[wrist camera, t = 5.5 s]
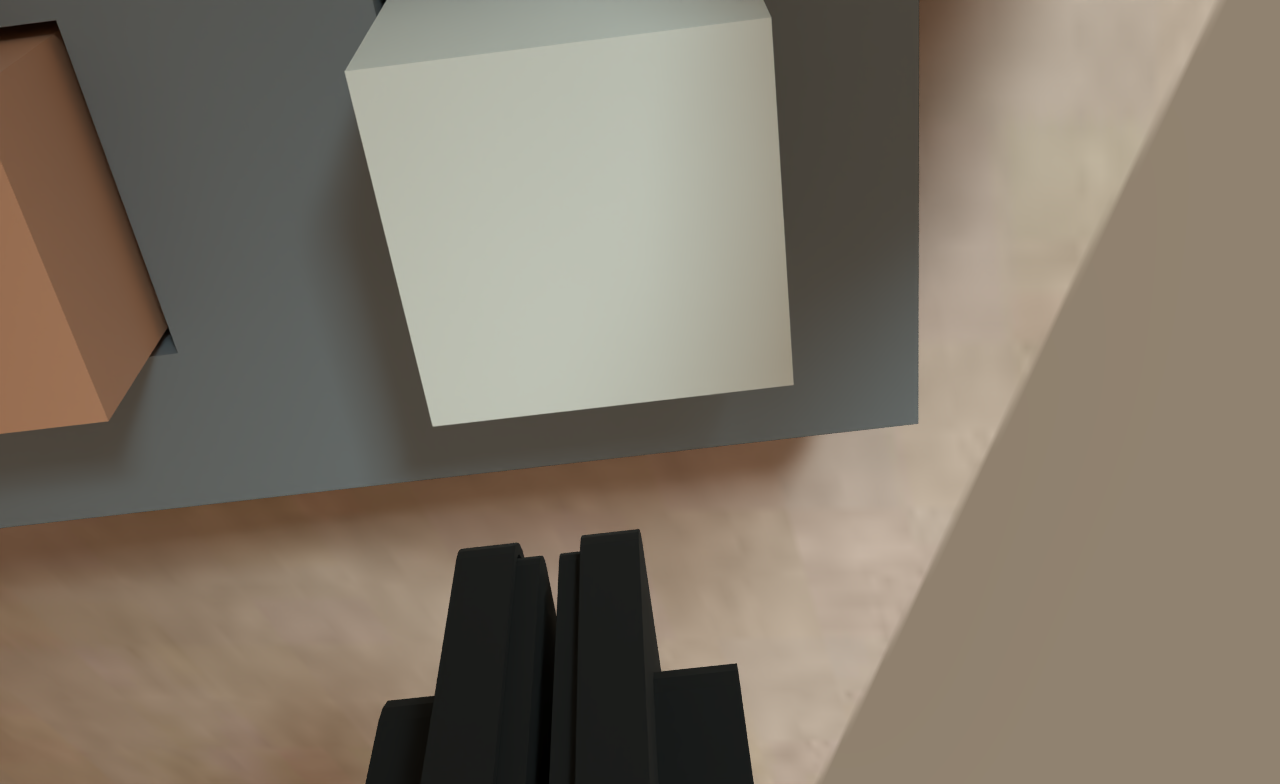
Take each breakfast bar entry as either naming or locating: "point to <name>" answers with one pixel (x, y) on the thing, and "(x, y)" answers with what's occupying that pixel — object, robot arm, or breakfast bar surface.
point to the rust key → (63, 249)
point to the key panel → (365, 280)
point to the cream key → (578, 199)
